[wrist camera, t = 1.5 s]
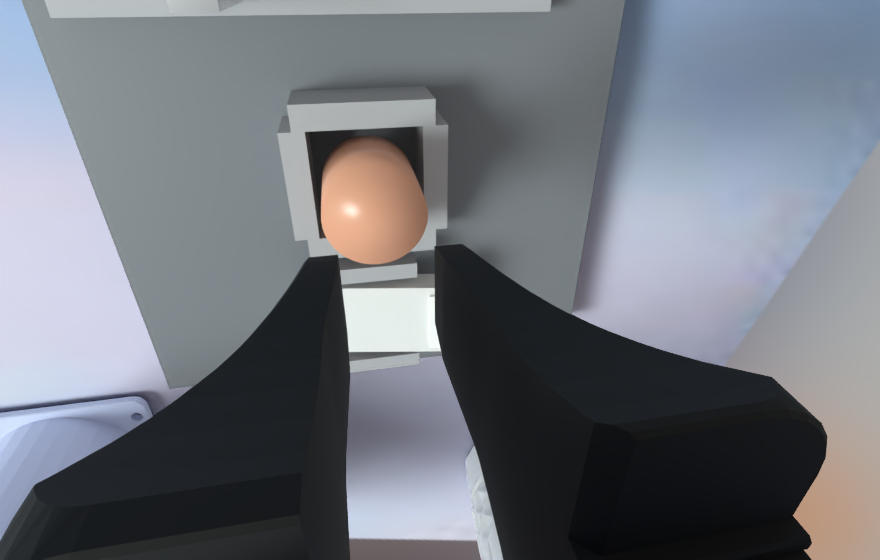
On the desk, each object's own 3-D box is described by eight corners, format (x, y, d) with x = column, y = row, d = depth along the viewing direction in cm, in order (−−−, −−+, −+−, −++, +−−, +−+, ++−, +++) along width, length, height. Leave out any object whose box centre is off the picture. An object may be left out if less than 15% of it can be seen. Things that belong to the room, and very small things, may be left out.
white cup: (600, 432, 32) (697, 596, 24) (523, 507, 35) (586, 678, 26) (506, 394, 29) (581, 570, 20) (430, 480, 31) (467, 667, 23)
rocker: (454, 335, 21) (455, 353, 20) (309, 336, 21) (303, 354, 20) (455, 273, 19) (456, 290, 18) (298, 274, 19) (291, 291, 18)
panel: (551, 316, 26) (584, 367, 23) (181, 358, 23) (156, 424, 20) (620, -153, 16) (696, -184, 13) (-8, -180, 13) (-118, -228, 10)
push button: (414, 218, 18) (428, 259, 15) (327, 225, 17) (327, 268, 15) (411, 132, 16) (427, 163, 14) (316, 137, 16) (314, 170, 13)
